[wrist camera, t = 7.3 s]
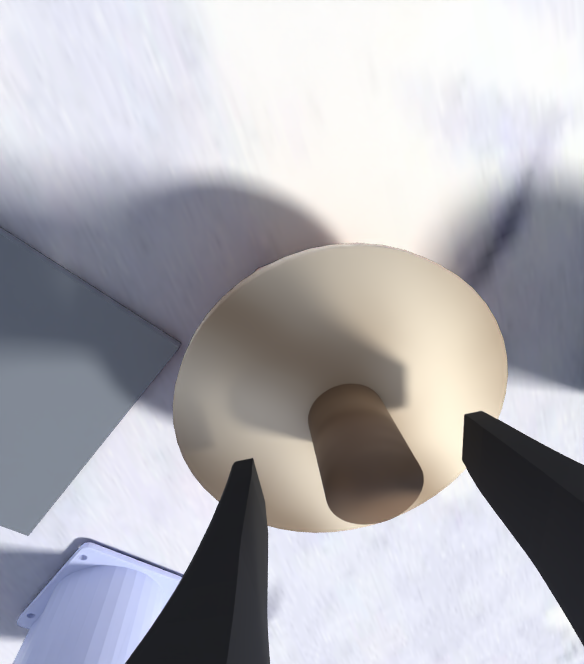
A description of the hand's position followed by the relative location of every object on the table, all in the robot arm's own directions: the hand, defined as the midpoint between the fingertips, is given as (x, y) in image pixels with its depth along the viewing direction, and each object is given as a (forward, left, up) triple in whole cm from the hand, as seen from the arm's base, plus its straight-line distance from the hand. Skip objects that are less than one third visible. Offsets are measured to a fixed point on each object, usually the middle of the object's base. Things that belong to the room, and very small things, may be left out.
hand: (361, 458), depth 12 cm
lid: (0, 0, -3) cm, 3 cm away
